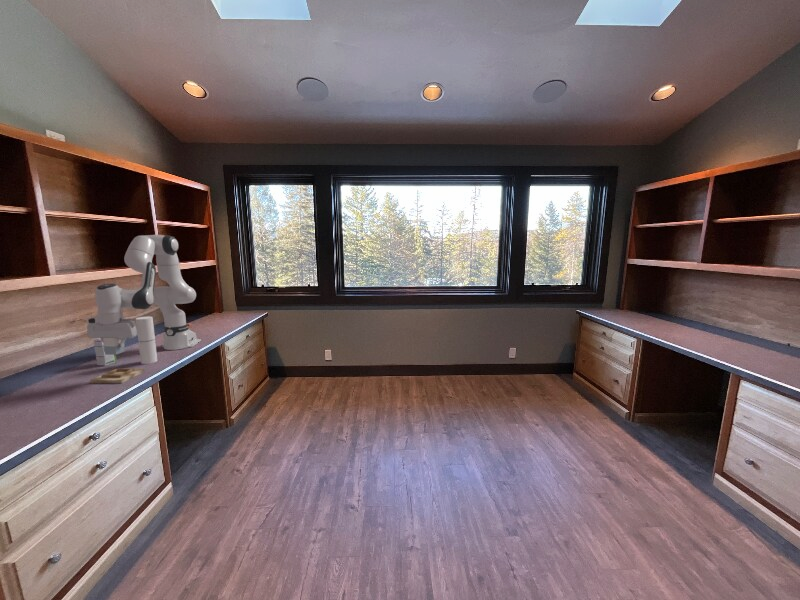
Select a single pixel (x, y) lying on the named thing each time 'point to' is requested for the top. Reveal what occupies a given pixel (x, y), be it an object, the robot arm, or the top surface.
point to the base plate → (117, 376)
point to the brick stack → (112, 346)
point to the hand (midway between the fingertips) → (114, 346)
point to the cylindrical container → (146, 340)
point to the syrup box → (103, 354)
